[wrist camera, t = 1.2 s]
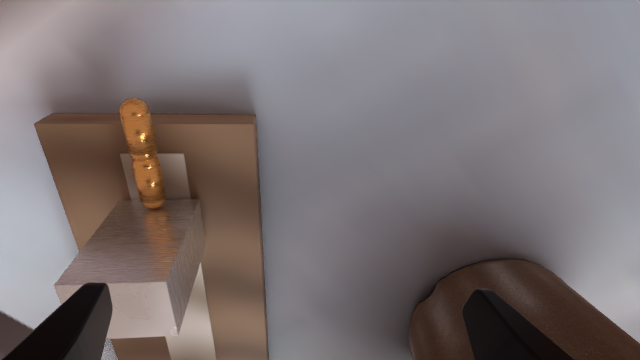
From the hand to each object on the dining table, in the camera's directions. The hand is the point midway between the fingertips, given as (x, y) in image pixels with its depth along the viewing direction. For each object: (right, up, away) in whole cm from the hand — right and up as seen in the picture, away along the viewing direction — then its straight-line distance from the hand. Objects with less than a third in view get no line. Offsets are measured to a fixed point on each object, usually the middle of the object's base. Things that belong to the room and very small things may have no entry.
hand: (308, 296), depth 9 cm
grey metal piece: (-8, +3, +9) cm, 13 cm away
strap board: (-8, -3, +15) cm, 17 cm away
